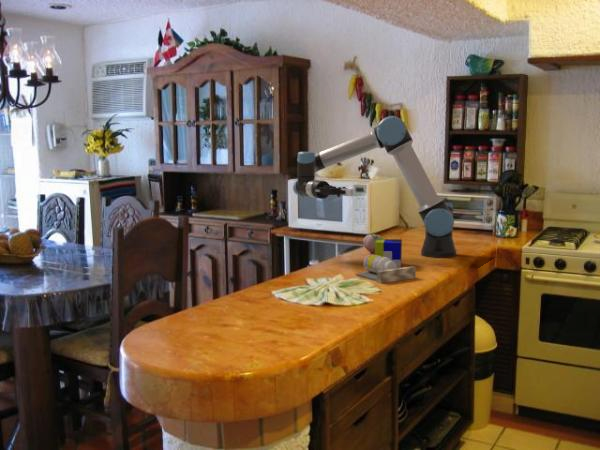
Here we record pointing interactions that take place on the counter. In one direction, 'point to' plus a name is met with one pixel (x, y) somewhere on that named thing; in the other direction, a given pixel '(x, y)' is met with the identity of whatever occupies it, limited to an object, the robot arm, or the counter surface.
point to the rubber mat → (368, 275)
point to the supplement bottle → (378, 263)
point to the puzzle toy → (390, 249)
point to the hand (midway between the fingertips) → (352, 192)
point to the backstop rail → (395, 274)
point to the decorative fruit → (370, 242)
